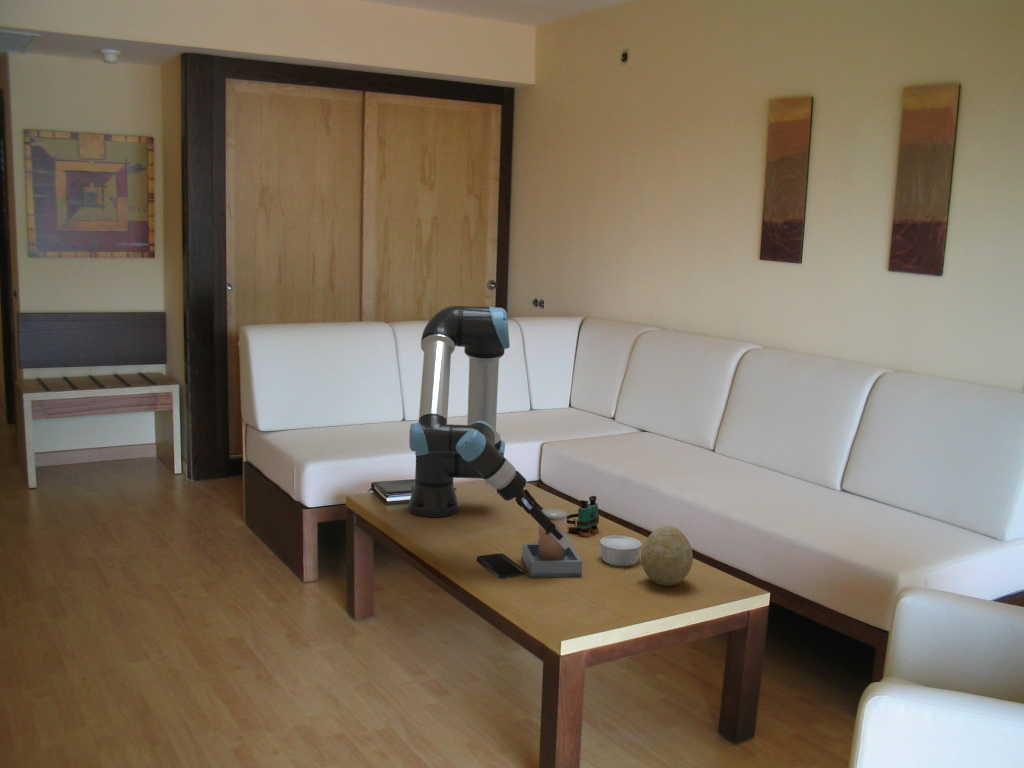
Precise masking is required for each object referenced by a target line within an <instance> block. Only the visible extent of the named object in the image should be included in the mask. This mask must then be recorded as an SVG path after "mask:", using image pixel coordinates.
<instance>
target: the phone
mask: <svg viewBox="0 0 1024 768" xmlns="http://www.w3.org/2000/svg"><path fill="white" fill-rule="evenodd" d="M476 561H477V562H478V563H479V564H481V565H482V566H483V567H484V568H485V569H487V570H488V571H489V572H490V573H491V574H492V575H494V576H495V577H496V578H498V579H501V580H502V579H510V578H516V577H517V578H518V577H523V576H526V570H525V569H523V568H522V567H521V566H520V565H518V564H517V562H514V561H513V560H512V559H511V558H510V557H508V556H507V555H505V554H504V553H492V554H484V555H483V554H482V555H477V556H476Z"/></svg>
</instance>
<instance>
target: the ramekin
mask: <svg viewBox="0 0 1024 768" xmlns="http://www.w3.org/2000/svg"><path fill="white" fill-rule="evenodd" d="M599 546H600V555H601V560H603V562H604V561H605V562H604V563H606V564H608V563H609V564H608V565H611V564H612V565H611V566H615V565H617V566H616V567H629V565H631V566H633V564H634V565H635V564H637V562H638V560H639V558H640V557H639V556H640V553H641V550H642V548H643V545H642V542H641V541H640V540H639V539H637V538H634V537H632V536H631V537H630V536H625V535H607V536H604V537H602V538H601V539H600V540H599Z"/></svg>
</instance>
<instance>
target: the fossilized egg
mask: <svg viewBox="0 0 1024 768" xmlns="http://www.w3.org/2000/svg"><path fill="white" fill-rule="evenodd" d="M640 553H641V554H640V560H641V561H640V562H641V566H642V569H643V571H644V573H645V574H646V576H647V577H648V578H649V579H650V580H651V581H653V582H654V583H655V584H658V585H661V586H665V587H667V586H674V585H677V584H679V583H681V582H682V581H684V579H685V578H686V577H687V576H688V575H689V574H690V572H691V569H692V566H693V563H694V562H693V560H694V559H693V557H694V554H693V550H692V547H691V543H690V542H689V540H688V538H687V537H686V536H685V534H684V533H683V532H682V531H681V530H680V529H679V528H677V527H675V526H672V525H662V526H659V527H657V528H656V529H654V531H652V532H651V533H650V534H649V536H648V537H647V538H646V539H645V542H644V544H643V545H642V547H641V551H640Z"/></svg>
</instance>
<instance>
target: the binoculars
mask: <svg viewBox="0 0 1024 768" xmlns="http://www.w3.org/2000/svg"><path fill="white" fill-rule="evenodd" d="M596 501H597V496H596V495H591V496H589V498H588V500H583V499H581V500H580V504H581V506H580V507H578V510H577V513H572V514H570V515H567V524H569V525H573V526H569V527H567V529H568V532H569V533H580V535H581V536H583V537H587V538H588V537H591V533H593V534H598V533H599V531H600V530H599V527H598V524H599V523H600V516H599V507H598V503H597V502H596ZM576 518H577V519H576ZM570 519H573V520H570Z"/></svg>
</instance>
